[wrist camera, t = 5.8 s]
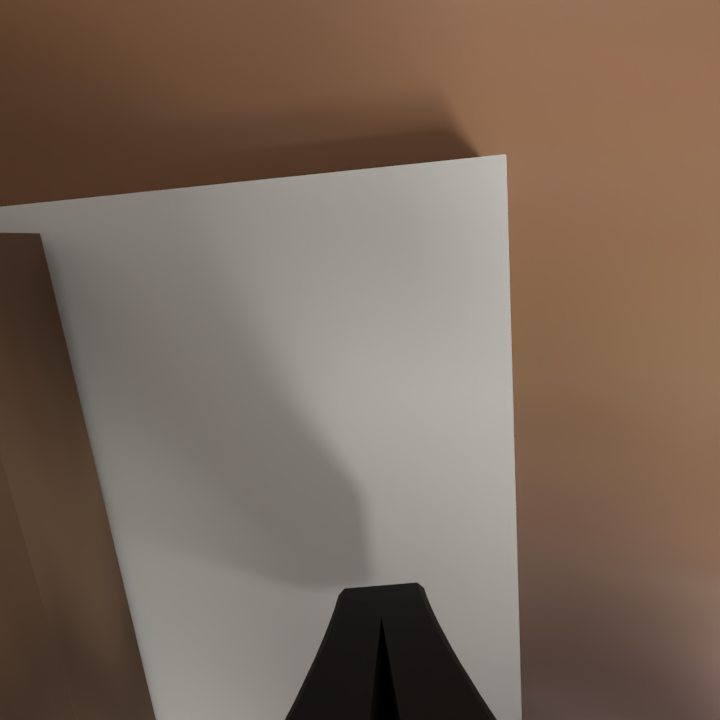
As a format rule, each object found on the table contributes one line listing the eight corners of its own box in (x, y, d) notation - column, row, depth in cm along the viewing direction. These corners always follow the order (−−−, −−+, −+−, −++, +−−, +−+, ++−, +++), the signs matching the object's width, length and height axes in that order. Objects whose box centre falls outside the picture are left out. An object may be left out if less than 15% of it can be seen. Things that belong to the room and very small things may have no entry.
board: (510, 796, 13) (609, 1166, 8) (-181, 843, 13) (-522, 1222, 8) (487, 164, 9) (642, 74, 4) (-451, 262, 10) (-1340, 285, 5)
